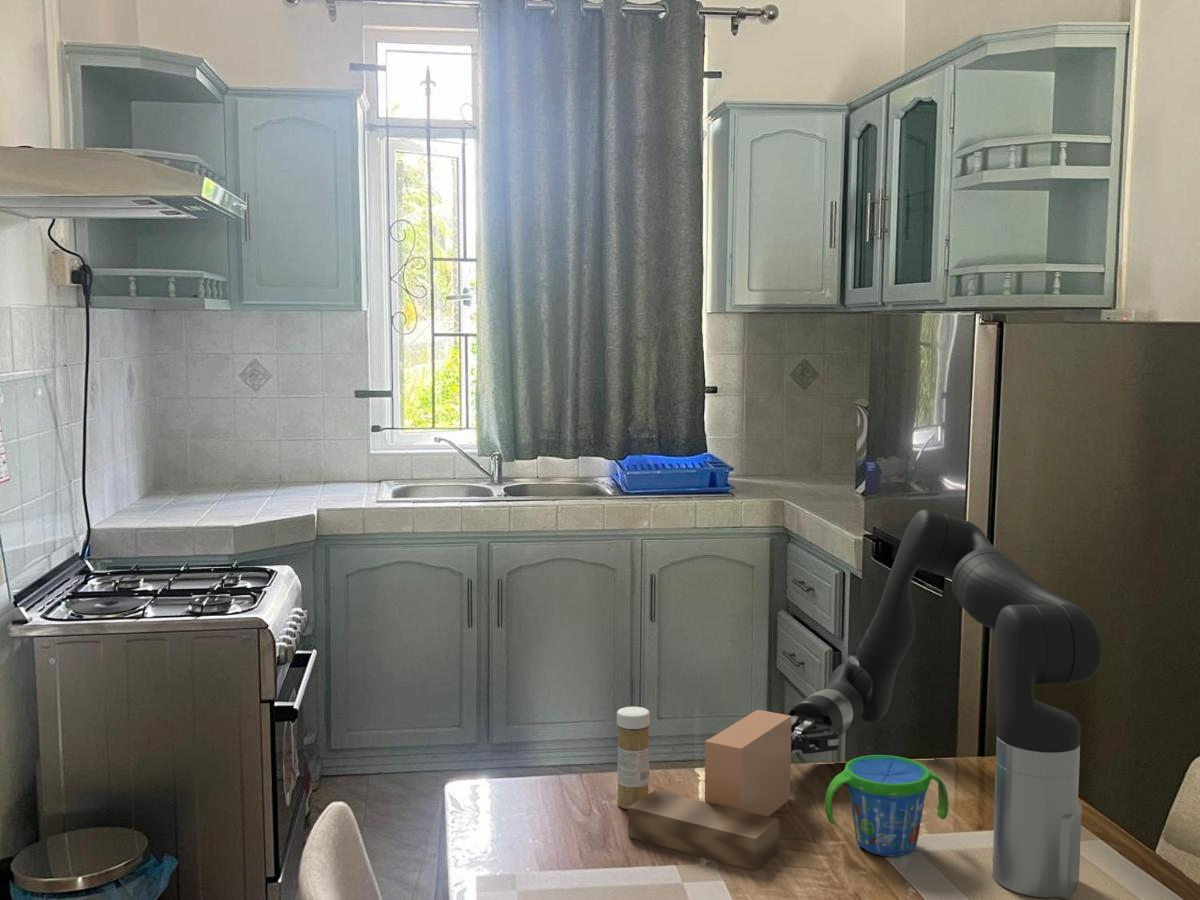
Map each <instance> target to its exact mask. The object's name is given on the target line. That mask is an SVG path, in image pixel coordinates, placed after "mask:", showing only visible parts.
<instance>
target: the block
mask: <svg viewBox="0 0 1200 900" xmlns="http://www.w3.org/2000/svg"><path fill="white" fill-rule="evenodd" d="M791 760H792V753H791V716H789V715H788V714H782V713H778V712H772V711H767V710H762V709H756V710H754V711H753V712H751V713H749V714H748V715H746V716H744V717H743V718H741V719H740V720H738V721H736V722H735V723H733V724H732V725H730V726H728V727H726V728H724V729H723V730H722V731H720V732H718V733H716V734H715V735H713V736H712V737H710V738H708V739H706V740H705V742H704V802H708V803H713V804H717V805H721V806H725V807H729V808H734V809H738V810H742V811H746V812H751V813H755V814H759V815H763V816H768V817H771V815H773V813H775V812H776V811H777V810H779V809H780V808H781V807H782V806H783V805H785V804H786V803H788V801H790V800H791V779H792V778H791V775H792V774H791V773H792V772H791V771H792V770H791V767H792V766H791V765H792V761H791Z"/></svg>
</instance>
